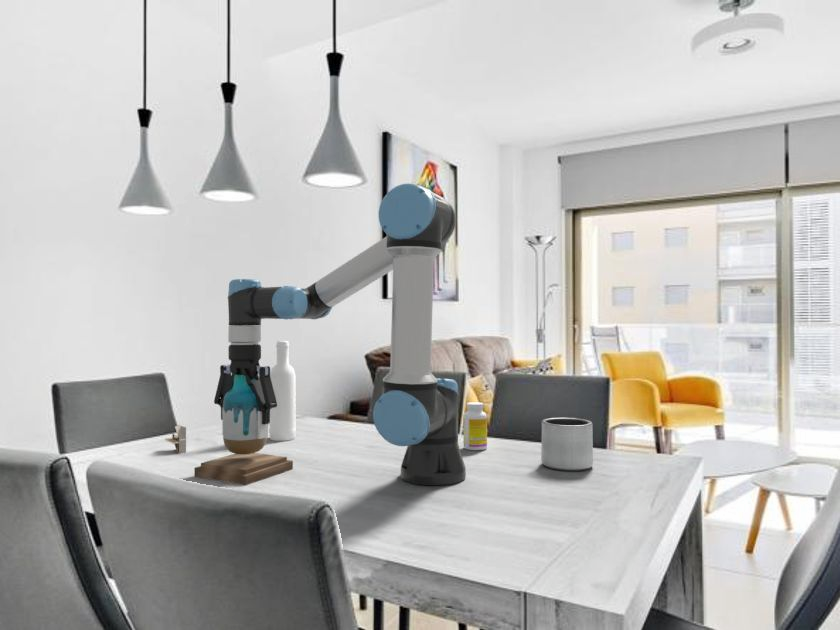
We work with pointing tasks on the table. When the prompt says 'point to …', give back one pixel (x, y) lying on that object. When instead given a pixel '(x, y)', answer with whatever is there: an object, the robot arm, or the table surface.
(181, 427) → the architectural model
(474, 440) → the supplement bottle
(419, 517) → the table surface
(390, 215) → the robot arm
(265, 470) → the pedestal
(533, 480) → the table surface
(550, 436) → the planter
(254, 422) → the vase
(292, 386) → the bottle
